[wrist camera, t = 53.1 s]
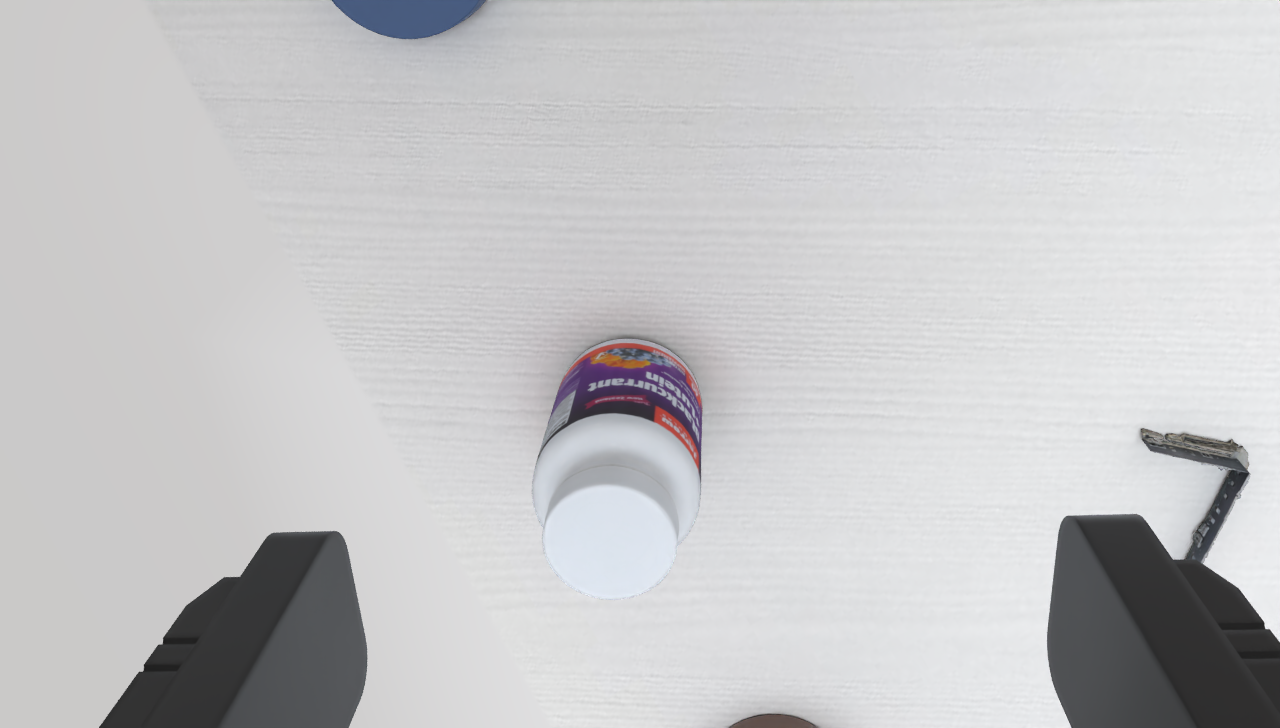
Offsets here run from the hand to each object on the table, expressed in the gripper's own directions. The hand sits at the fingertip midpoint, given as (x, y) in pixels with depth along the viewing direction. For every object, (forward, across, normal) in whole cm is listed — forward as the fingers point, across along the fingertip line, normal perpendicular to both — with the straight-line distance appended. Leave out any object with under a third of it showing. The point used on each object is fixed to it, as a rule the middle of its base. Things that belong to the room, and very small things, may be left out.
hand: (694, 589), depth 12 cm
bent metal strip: (+26, -18, +15) cm, 35 cm away
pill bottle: (+26, +3, +10) cm, 28 cm away
